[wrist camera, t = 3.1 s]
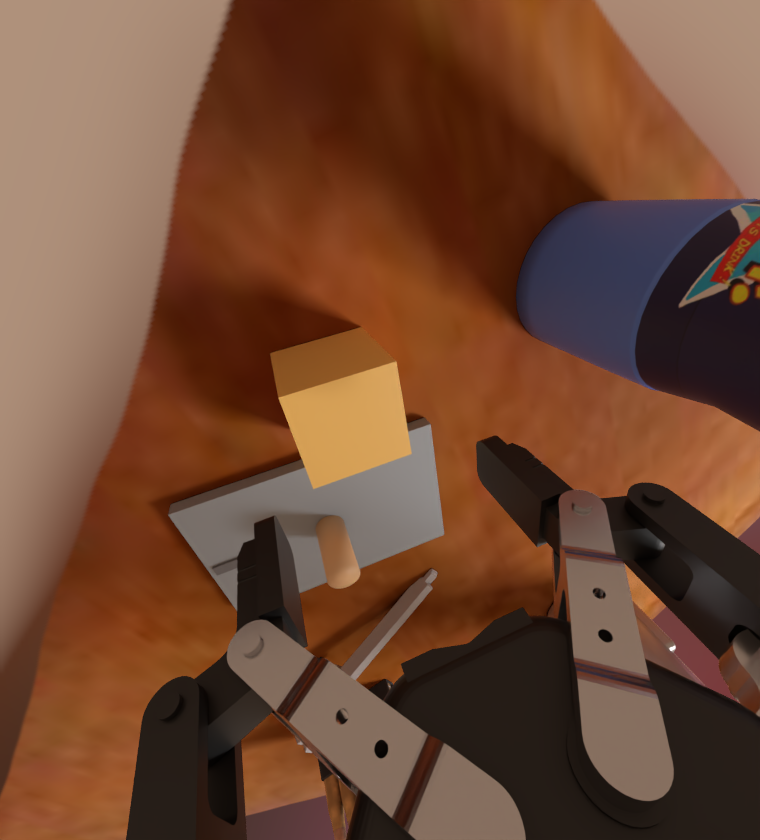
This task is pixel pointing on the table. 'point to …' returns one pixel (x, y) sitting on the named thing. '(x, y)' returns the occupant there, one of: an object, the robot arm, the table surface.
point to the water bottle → (654, 295)
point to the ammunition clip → (336, 790)
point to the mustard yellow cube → (342, 404)
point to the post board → (320, 517)
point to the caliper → (386, 628)
